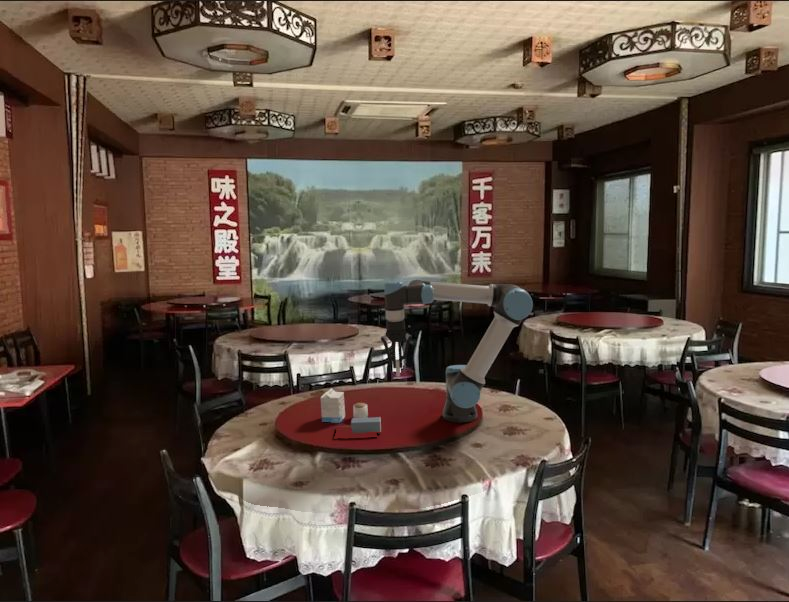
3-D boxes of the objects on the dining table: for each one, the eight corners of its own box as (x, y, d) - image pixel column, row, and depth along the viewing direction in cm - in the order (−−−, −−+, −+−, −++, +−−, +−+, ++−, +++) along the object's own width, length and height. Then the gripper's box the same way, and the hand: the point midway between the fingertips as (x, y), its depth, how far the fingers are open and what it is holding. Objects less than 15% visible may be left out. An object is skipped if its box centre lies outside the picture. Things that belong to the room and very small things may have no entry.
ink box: (340, 423, 258) (338, 394, 255) (321, 422, 260) (319, 393, 257) (345, 416, 266) (343, 387, 264) (327, 415, 268) (326, 387, 265)
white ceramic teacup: (368, 414, 267) (367, 401, 266) (367, 420, 261) (367, 406, 260) (354, 415, 267) (353, 402, 266) (353, 420, 261) (352, 407, 260)
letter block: (380, 417, 248) (351, 418, 248) (380, 421, 244) (351, 422, 244) (380, 428, 249) (352, 429, 249) (380, 433, 244) (351, 434, 244)
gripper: (411, 316, 242) (413, 372, 246) (379, 318, 242) (382, 373, 246) (411, 320, 235) (414, 377, 239) (379, 322, 235) (382, 379, 239)
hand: (398, 375), depth 243 cm, fingers closed
